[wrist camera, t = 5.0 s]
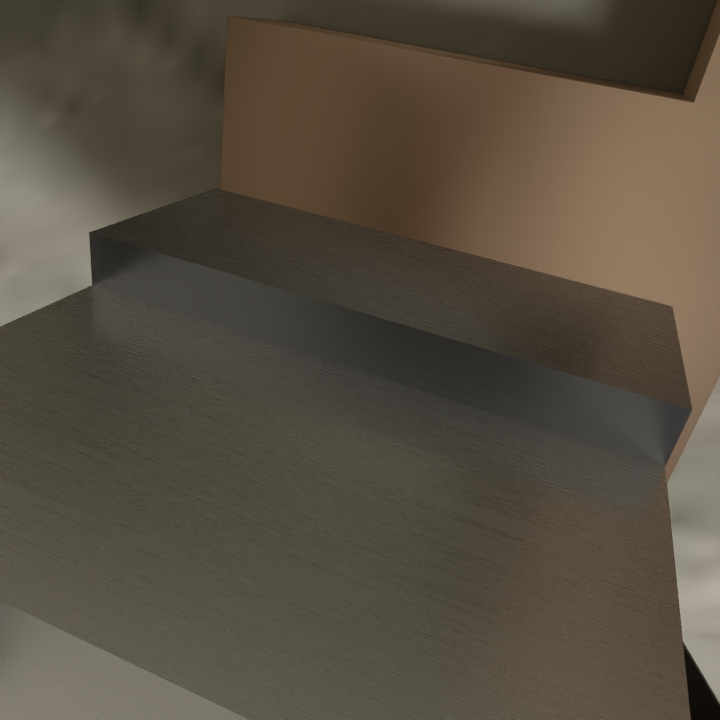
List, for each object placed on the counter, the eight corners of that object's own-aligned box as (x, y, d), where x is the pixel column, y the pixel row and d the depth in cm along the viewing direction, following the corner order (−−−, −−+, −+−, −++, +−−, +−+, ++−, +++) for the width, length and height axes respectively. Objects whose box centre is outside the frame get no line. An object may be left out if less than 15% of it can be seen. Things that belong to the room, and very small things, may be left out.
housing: (672, 306, 7) (782, 871, 2) (529, 645, 10) (438, 1226, 5) (216, 188, 9) (-331, 377, 4) (203, 514, 12) (-116, 870, 7)
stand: (805, 116, 11) (840, 130, 9) (609, 543, 16) (608, 603, 14) (277, 20, 13) (227, 16, 12) (247, 417, 18) (208, 455, 16)
